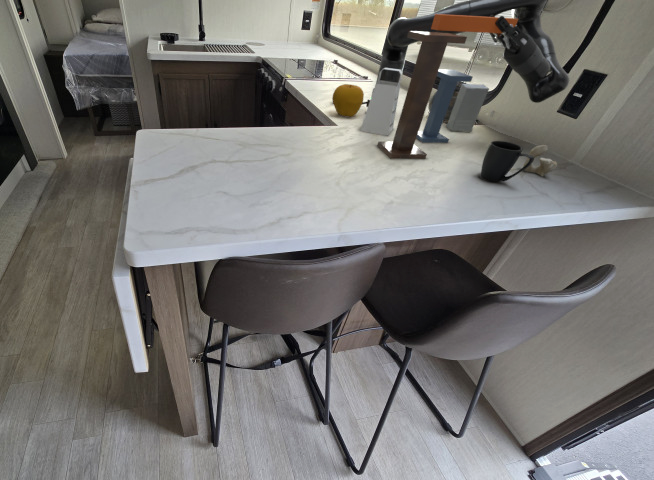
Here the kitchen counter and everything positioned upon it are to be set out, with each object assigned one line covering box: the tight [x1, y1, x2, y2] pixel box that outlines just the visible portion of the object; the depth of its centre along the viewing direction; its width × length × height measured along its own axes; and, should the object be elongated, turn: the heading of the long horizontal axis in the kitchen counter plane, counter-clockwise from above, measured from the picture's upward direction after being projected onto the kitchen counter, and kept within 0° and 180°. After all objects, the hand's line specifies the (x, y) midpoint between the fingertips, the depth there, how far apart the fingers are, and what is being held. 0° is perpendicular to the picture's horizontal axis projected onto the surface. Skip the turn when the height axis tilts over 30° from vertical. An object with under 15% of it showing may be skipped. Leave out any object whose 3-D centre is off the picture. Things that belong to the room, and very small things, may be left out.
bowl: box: [427, 90, 459, 121], centre depth 147 cm, size 14×15×10 cm
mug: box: [479, 140, 535, 183], centre depth 98 cm, size 8×12×10 cm
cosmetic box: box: [446, 83, 490, 133], centre depth 134 cm, size 8×7×16 cm
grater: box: [359, 68, 403, 137], centre depth 127 cm, size 10×10×20 cm
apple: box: [331, 83, 365, 118], centre depth 143 cm, size 13×13×11 cm
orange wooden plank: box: [431, 14, 518, 34], centre depth 101 cm, size 24×4×4 cm, turn 96°
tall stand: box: [377, 31, 468, 160], centre depth 105 cm, size 12×12×32 cm
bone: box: [522, 144, 558, 178], centre depth 104 cm, size 9×6×10 cm
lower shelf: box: [416, 68, 474, 144], centre depth 122 cm, size 10×12×21 cm
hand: (493, 18), depth 101 cm, fingers closed on orange wooden plank, 4 cm apart
